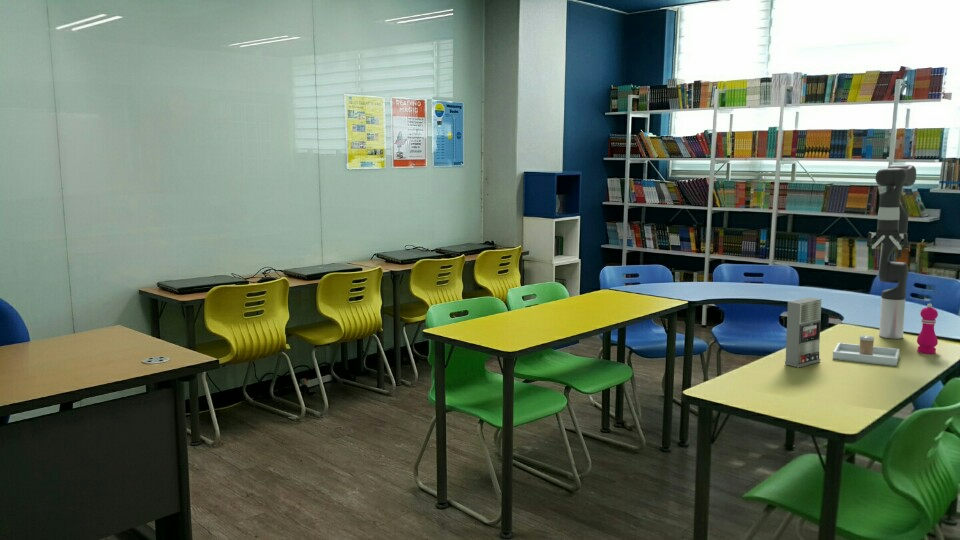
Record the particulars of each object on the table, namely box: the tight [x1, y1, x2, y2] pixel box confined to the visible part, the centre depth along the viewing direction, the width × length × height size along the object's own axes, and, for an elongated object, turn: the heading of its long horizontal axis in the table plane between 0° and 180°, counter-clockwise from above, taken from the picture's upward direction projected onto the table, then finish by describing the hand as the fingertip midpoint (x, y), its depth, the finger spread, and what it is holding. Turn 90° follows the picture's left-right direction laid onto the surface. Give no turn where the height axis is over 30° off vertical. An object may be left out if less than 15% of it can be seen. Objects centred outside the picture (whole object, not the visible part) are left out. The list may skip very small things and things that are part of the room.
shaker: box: [859, 334, 875, 355], centre depth 286 cm, size 5×5×8 cm
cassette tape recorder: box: [784, 297, 822, 369], centre depth 279 cm, size 14×6×25 cm, turn 122°
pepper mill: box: [916, 303, 939, 355], centre depth 291 cm, size 7×7×20 cm
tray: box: [832, 342, 900, 367], centre depth 287 cm, size 16×22×3 cm
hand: (886, 258), depth 292 cm, fingers open, 8 cm apart
